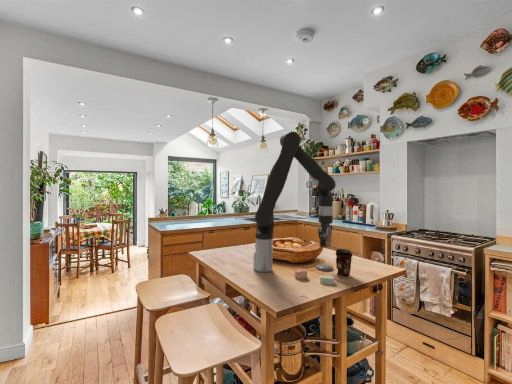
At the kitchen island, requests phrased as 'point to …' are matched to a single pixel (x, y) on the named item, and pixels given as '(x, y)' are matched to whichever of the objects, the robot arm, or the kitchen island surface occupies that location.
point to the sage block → (326, 279)
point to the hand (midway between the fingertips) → (325, 245)
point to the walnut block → (327, 241)
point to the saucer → (324, 267)
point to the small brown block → (301, 274)
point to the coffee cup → (343, 262)
